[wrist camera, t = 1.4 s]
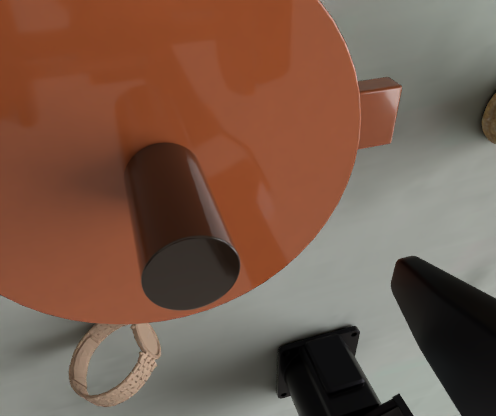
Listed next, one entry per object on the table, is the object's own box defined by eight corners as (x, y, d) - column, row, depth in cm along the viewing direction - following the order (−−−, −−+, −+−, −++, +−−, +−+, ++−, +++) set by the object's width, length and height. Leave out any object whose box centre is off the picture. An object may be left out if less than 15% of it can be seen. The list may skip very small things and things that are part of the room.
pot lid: (328, 261, 21) (395, 365, 17) (6, 339, 18) (-13, 490, 14) (373, -99, 13) (529, -75, 8) (-217, -68, 10) (-447, -7, 5)
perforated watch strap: (155, 314, 28) (168, 385, 24) (88, 352, 28) (91, 429, 25) (130, 290, 26) (140, 364, 23) (59, 331, 27) (57, 410, 23)
